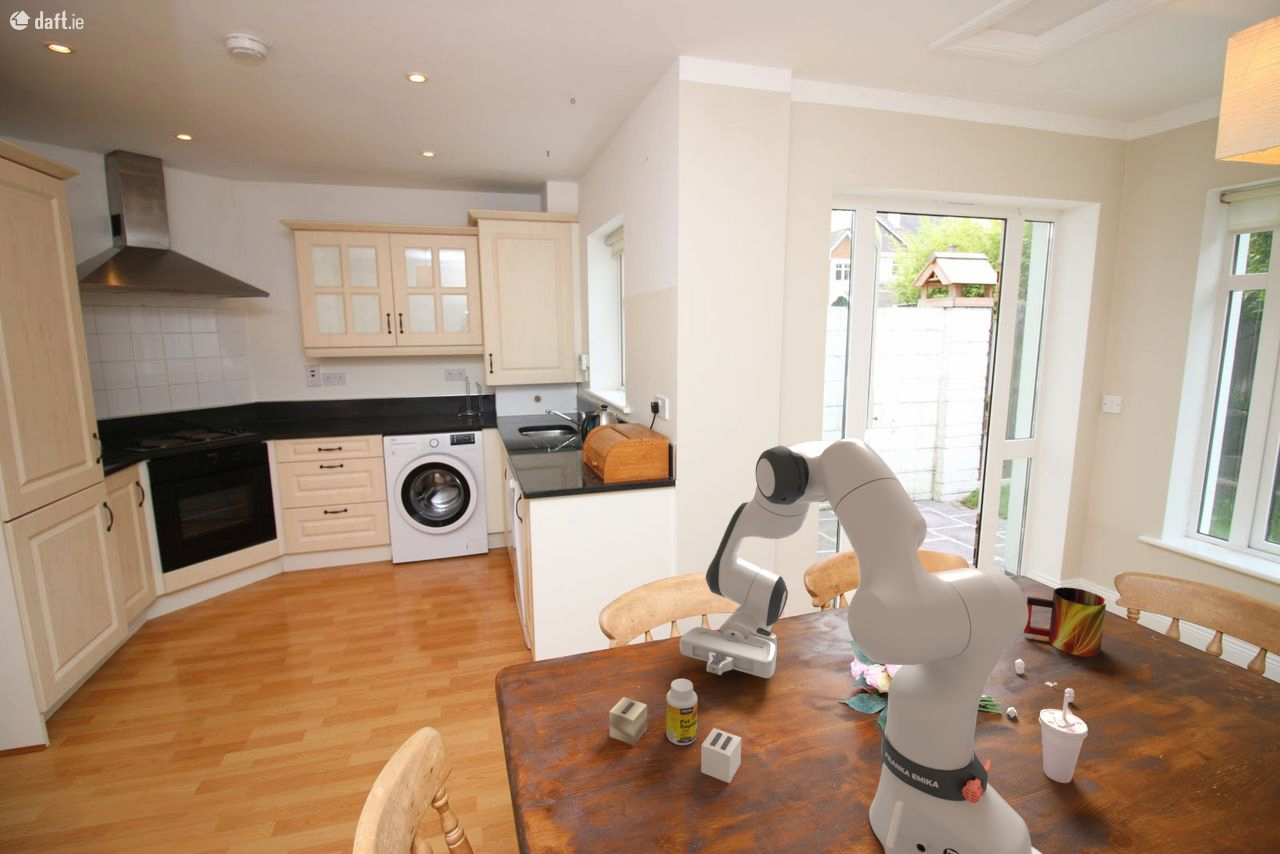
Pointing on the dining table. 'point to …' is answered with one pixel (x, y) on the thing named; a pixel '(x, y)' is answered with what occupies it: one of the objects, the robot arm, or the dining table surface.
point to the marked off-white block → (721, 755)
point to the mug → (1072, 620)
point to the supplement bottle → (681, 712)
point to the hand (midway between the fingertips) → (713, 670)
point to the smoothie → (1061, 742)
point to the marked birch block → (628, 720)
